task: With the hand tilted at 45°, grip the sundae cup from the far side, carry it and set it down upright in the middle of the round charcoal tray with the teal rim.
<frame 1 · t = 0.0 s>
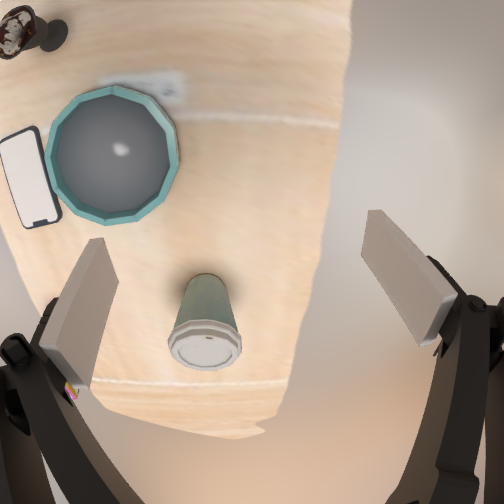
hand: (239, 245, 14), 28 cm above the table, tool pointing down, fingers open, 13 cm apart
round tray: (112, 154, 37), on the table
smartphone: (31, 177, 36), on the table
sundae: (53, 35, 25), on the table
disposable coffee cup: (204, 286, 52), on the table
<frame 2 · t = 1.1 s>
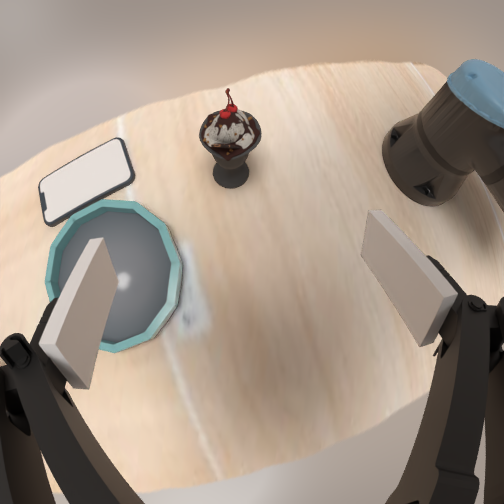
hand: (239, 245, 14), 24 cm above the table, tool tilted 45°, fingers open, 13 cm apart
round tray: (113, 276, 37), on the table
smartphone: (85, 183, 40), on the table
sundae: (230, 172, 40), on the table
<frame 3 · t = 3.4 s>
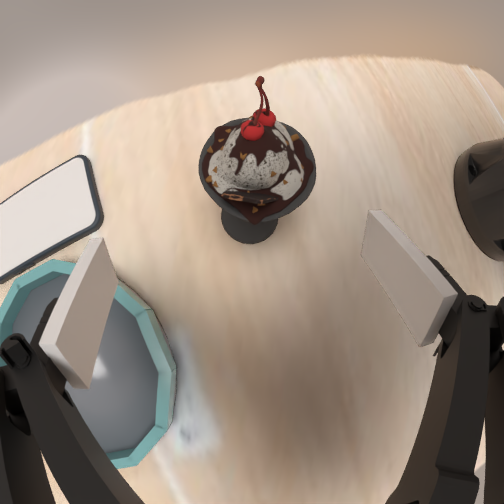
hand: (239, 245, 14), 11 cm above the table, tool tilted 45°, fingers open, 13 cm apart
round tray: (80, 368, 23), on the table
smartphone: (39, 223, 26), on the table
sundae: (249, 216, 26), on the table
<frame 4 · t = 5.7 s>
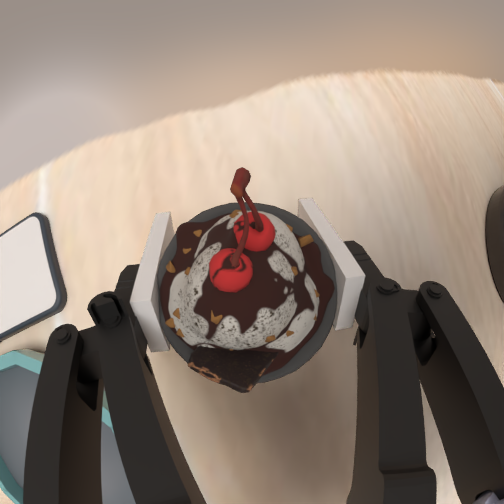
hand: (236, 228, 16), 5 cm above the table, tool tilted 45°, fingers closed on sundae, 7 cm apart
round tray: (62, 455, 17), on the table
smartphone: (1, 291, 20), on the table
sundae: (242, 300, 21), on the table, touching gripper
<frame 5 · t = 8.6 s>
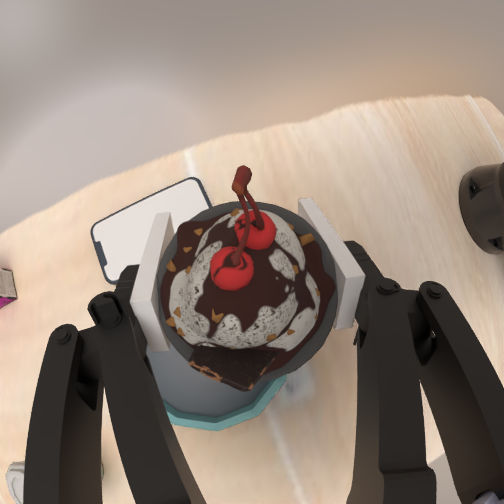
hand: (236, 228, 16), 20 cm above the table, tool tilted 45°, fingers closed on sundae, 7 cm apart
round tray: (204, 347, 34), on the table
smartphone: (154, 232, 37), on the table
sundae: (242, 299, 21), point 15 cm above the table, touching gripper
disposable coffee cup: (85, 460, 30), on the table
when the fingers open (8 cm above the table, at t = 11.5 s): sundae drops 1 cm, resting on round tray.
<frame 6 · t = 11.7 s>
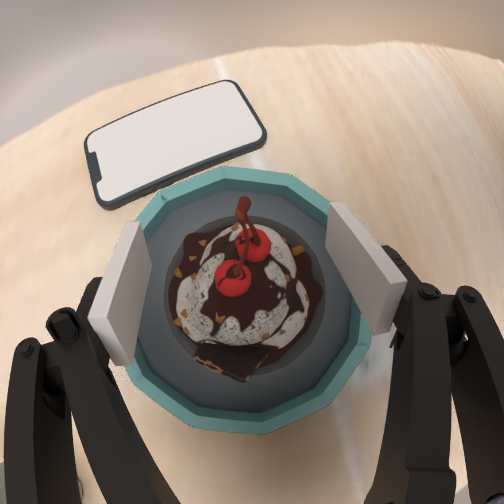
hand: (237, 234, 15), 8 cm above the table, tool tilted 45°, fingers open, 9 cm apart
round tray: (240, 301, 23), on the table
smartphone: (172, 142, 26), on the table
sundae: (239, 300, 22), point 1 cm above the table, touching round tray
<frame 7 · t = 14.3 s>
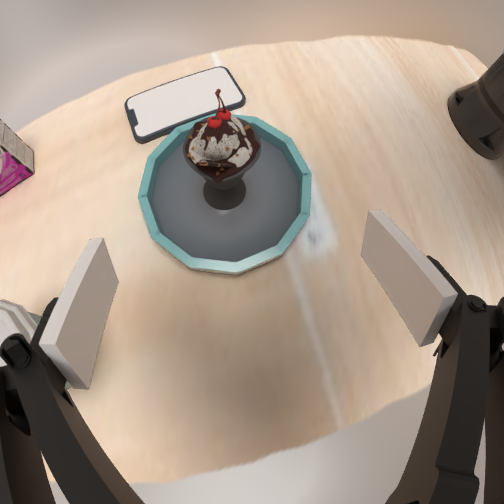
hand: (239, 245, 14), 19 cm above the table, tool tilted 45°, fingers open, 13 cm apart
round tray: (225, 193, 35), on the table
candy bar box: (10, 179, 34), on the table
smartphone: (184, 105, 38), on the table
sundae: (224, 190, 34), point 1 cm above the table, touching round tray
disposable coffee cup: (73, 348, 30), on the table
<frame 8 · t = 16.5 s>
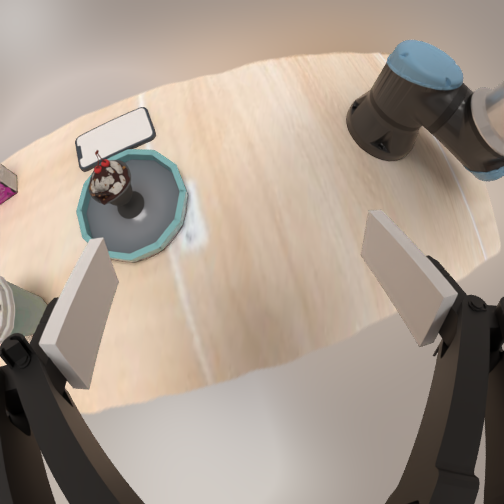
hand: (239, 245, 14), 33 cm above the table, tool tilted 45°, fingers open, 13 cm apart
round tray: (133, 206, 48), on the table
candy bar box: (1, 195, 47), on the table
smartphone: (115, 140, 51), on the table
sundae: (130, 205, 47), point 1 cm above the table, touching round tray
disposable coffee cup: (38, 312, 43), on the table
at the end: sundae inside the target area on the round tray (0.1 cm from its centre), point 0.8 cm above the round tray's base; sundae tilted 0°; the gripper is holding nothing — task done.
